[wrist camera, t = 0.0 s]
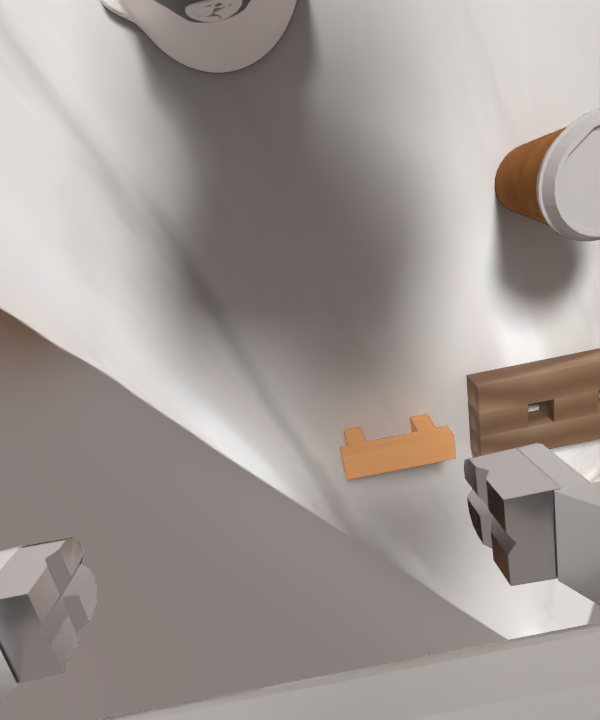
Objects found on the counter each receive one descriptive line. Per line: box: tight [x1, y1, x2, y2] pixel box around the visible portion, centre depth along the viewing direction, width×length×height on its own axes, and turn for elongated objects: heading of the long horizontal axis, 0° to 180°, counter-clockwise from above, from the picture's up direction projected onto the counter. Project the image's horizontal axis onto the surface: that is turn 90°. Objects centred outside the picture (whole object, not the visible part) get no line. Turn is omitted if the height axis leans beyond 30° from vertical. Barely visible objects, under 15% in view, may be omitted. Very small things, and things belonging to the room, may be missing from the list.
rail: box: [467, 349, 600, 457], centre depth 52 cm, size 10×22×3 cm, turn 101°
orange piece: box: [340, 414, 456, 480], centre depth 51 cm, size 3×12×6 cm, turn 101°
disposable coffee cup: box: [495, 109, 600, 241], centre depth 39 cm, size 10×10×12 cm
